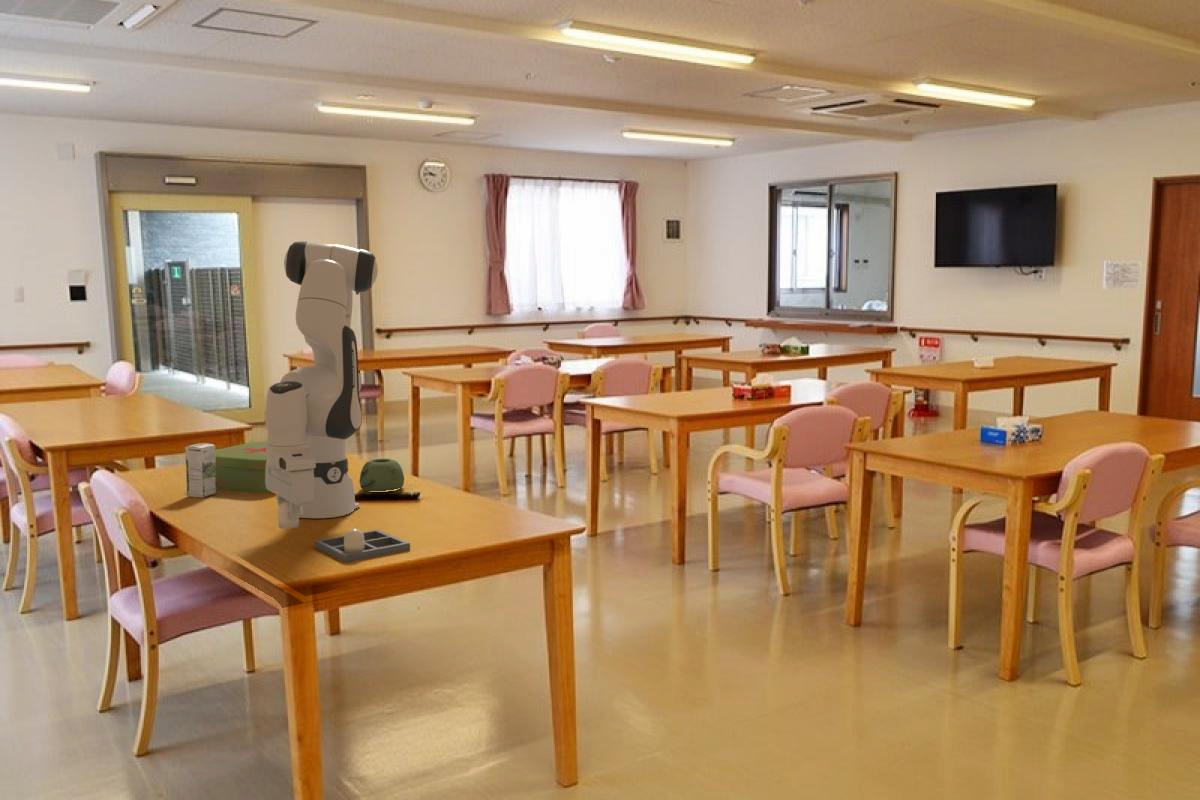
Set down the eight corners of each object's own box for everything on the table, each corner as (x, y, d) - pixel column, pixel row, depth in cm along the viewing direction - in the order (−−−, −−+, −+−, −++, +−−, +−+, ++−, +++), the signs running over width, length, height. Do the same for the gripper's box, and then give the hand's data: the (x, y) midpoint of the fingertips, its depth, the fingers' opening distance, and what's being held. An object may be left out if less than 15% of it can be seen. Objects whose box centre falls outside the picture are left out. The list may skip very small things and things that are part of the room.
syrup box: (201, 492, 288) (198, 442, 287) (218, 494, 287) (215, 443, 285) (186, 496, 283) (184, 445, 281) (203, 498, 281) (201, 447, 279)
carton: (314, 551, 227) (314, 540, 227) (377, 539, 237) (377, 529, 237) (345, 566, 216) (345, 555, 215) (410, 553, 225) (409, 543, 225)
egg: (275, 525, 225) (274, 500, 224) (294, 522, 227) (294, 497, 227) (282, 529, 221) (282, 504, 220) (302, 527, 224) (301, 501, 223)
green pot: (350, 489, 293) (349, 460, 292) (389, 483, 302) (388, 454, 300) (380, 498, 281) (380, 467, 280) (419, 491, 290) (418, 461, 289)
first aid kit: (268, 495, 286) (267, 460, 285) (196, 488, 295) (194, 454, 294) (325, 477, 310) (324, 446, 309) (256, 471, 320) (255, 440, 318)
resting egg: (340, 554, 222) (340, 528, 221) (359, 550, 224) (358, 525, 224) (349, 558, 218) (349, 532, 217) (368, 554, 221) (367, 529, 220)
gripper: (257, 449, 228) (258, 509, 230) (290, 465, 212) (291, 528, 214) (284, 447, 232) (285, 505, 234) (319, 462, 216) (320, 524, 218)
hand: (288, 516), depth 224 cm, fingers closed on egg, 4 cm apart
